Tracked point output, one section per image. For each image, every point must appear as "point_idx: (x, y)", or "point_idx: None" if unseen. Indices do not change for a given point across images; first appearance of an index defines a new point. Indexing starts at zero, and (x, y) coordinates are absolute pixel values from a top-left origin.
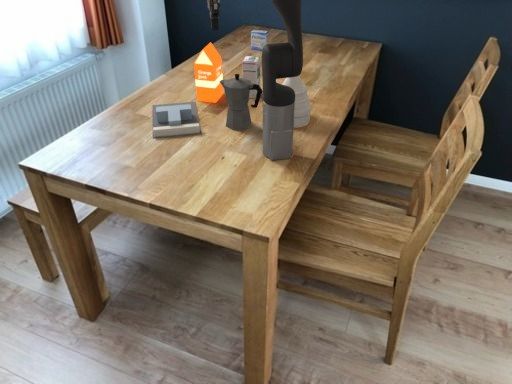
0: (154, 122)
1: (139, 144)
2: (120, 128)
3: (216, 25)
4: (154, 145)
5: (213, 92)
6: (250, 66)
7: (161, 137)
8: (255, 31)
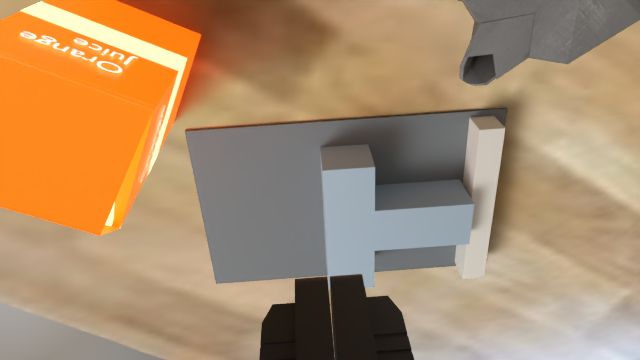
0: None
1: (505, 291)
2: None
3: (407, 345)
4: (528, 254)
5: (188, 60)
6: None
7: None
8: None
